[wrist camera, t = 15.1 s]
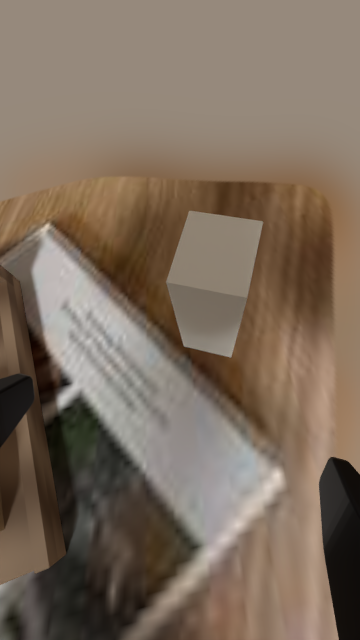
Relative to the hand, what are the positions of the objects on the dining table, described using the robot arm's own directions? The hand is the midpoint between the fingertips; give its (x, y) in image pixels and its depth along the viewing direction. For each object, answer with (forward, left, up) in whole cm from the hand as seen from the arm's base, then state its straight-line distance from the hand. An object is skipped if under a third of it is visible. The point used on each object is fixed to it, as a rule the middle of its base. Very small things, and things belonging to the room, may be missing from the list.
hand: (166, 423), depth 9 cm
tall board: (+7, +1, -11) cm, 14 cm away
